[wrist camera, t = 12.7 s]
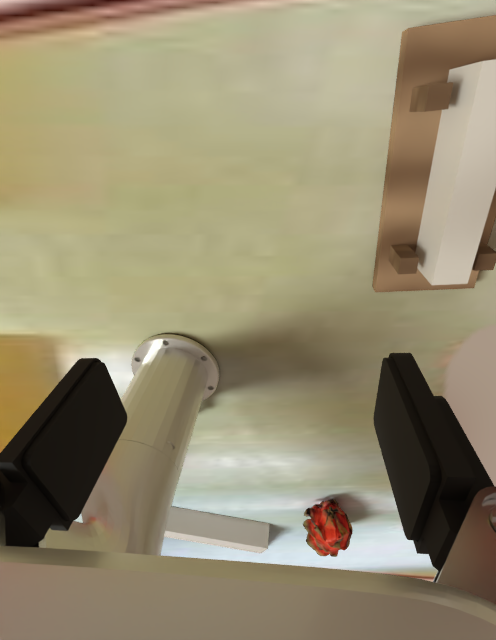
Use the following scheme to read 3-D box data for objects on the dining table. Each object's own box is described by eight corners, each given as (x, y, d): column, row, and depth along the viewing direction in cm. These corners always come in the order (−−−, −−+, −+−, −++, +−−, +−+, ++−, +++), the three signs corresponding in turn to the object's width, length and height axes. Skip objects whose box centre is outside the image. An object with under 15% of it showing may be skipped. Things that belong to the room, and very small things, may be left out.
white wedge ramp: (263, 528, 76) (269, 521, 69) (261, 553, 73) (267, 548, 66) (121, 504, 76) (112, 494, 69) (113, 527, 73) (103, 519, 66)
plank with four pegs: (467, 281, 35) (491, 304, 31) (372, 286, 37) (383, 308, 33) (545, 11, 24) (602, -11, 19) (402, 32, 25) (425, 16, 21)
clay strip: (444, 261, 33) (467, 283, 29) (413, 263, 33) (431, 285, 29) (492, 64, 24) (535, 54, 20) (449, 69, 25) (482, 60, 21)
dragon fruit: (316, 515, 68) (324, 475, 63) (354, 544, 63) (366, 503, 58) (293, 546, 62) (300, 505, 57) (333, 581, 57) (344, 539, 52)
